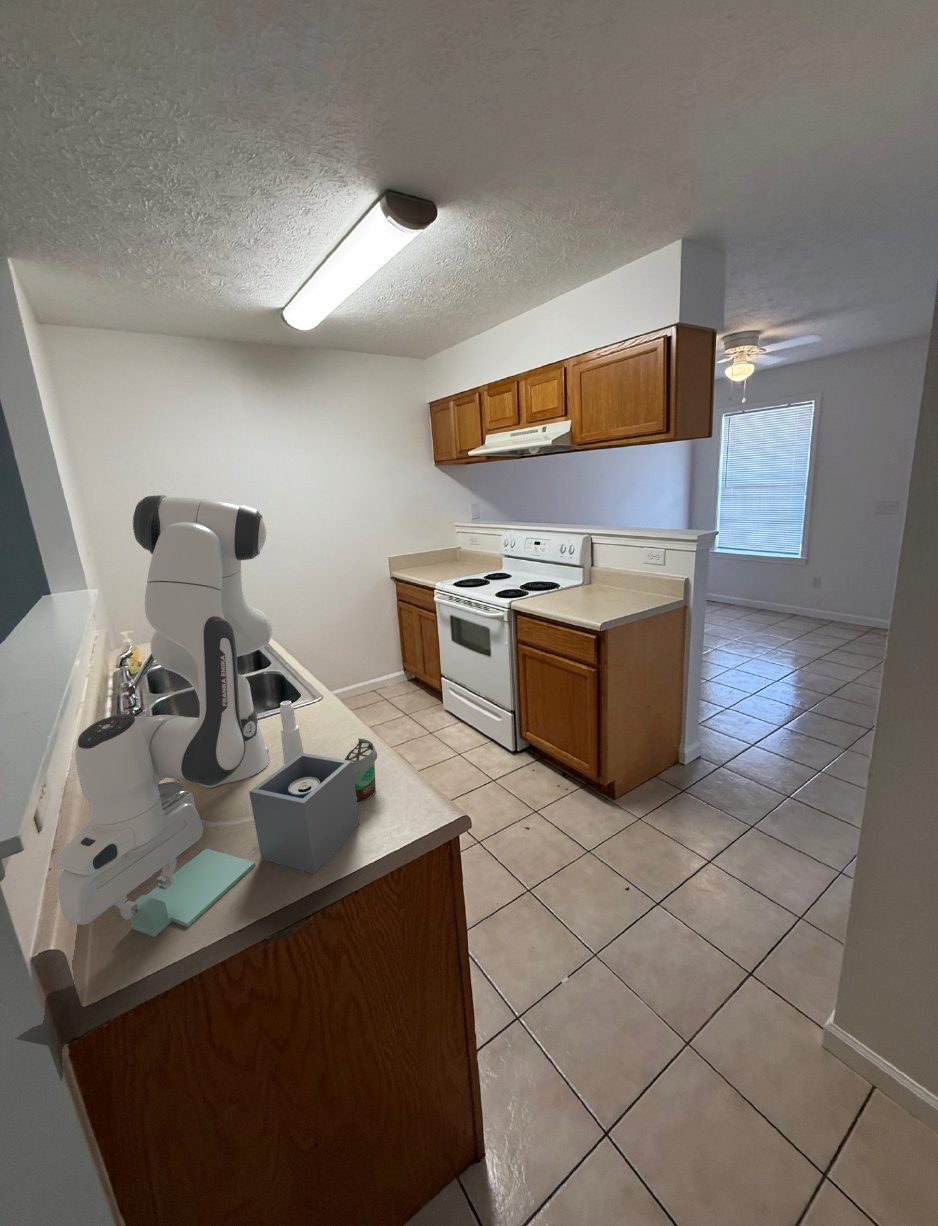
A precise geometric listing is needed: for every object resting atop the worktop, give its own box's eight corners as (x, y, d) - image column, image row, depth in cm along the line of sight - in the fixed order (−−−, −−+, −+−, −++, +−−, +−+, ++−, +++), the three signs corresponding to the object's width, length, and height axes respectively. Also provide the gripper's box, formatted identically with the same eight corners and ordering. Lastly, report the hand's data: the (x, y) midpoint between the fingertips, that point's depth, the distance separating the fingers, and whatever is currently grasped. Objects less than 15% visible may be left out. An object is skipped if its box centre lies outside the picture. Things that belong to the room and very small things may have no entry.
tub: (261, 858, 92) (249, 791, 89) (310, 813, 105) (301, 752, 102) (314, 873, 88) (303, 802, 85) (359, 824, 101) (351, 761, 97)
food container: (368, 810, 105) (363, 767, 103) (340, 808, 106) (335, 765, 104) (388, 777, 117) (384, 738, 114) (364, 776, 118) (359, 737, 116)
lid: (117, 922, 80) (111, 901, 79) (206, 852, 95) (203, 833, 95) (170, 943, 76) (165, 921, 75) (255, 865, 91) (252, 846, 90)
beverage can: (296, 857, 92) (287, 799, 90) (293, 836, 98) (284, 781, 95) (332, 845, 95) (324, 789, 92) (327, 826, 101) (319, 772, 98)
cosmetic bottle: (304, 803, 109) (290, 709, 103) (280, 801, 110) (264, 707, 105) (319, 787, 114) (306, 697, 109) (295, 785, 116) (281, 696, 111)
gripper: (176, 782, 86) (191, 851, 89) (41, 864, 68) (66, 948, 71) (203, 788, 84) (218, 859, 87) (71, 875, 65) (96, 961, 69)
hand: (149, 900), depth 79 cm, fingers open, 5 cm apart
